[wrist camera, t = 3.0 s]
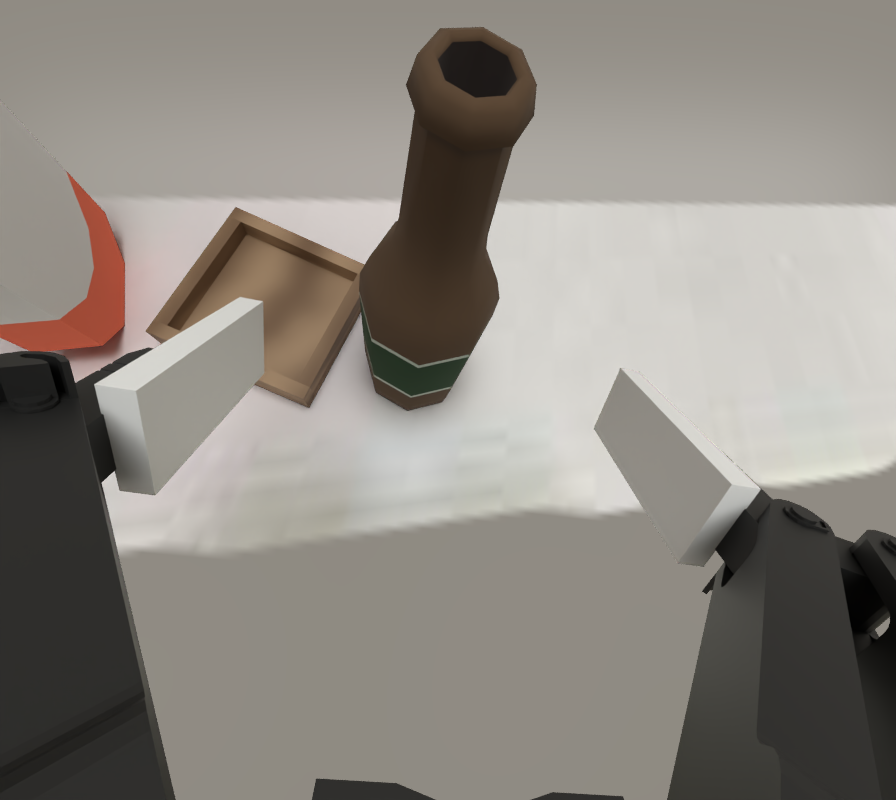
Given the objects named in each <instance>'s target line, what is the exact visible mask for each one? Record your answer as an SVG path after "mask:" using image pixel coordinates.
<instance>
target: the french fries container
mask: <svg viewBox="0 0 896 800" xmlns="http://www.w3.org/2000/svg"><path fill="white" fill-rule="evenodd" d="M124 312H125V263H124V260H123V258H122V255H121V253H120V250H119V248H118V245H117V242H116V240H115V237H114V235H113V232H112V230H111V227H110V224H109V222H108V219H107V217H106V214H105V212H104V211H103V210H102V209H101V208H100V207H99V206H98V205H97V204H96V203H95V202H94V200H93V199H92V198H91V197H90V196H89V195H88V194H87V193H86V192H85V191H84V190H83V189H82V188H81V186H80V185H79V184H78V183H77V182H76V181H75V180H74V179H73V178H72V177H71V176H70V174H69V173H68V172H67V171H66V170H65V169H64V168H63V167H62V166H61V165H60V164H59V163H58V162H57V161H56V159H55V158H54V157H53V156H52V155H51V154H50V153H49V152H48V151H47V150H46V149H45V147H44V146H43V145H42V144H41V143H40V142H39V141H38V140H37V139H36V138H35V137H34V136H33V134H32V133H31V132H30V131H29V130H28V129H27V128H26V127H25V126H24V125H23V124H22V123H21V121H20V120H19V119H18V118H17V117H16V116H15V115H14V114H13V113H12V112H11V111H10V110H9V108H8V107H7V106H6V105H5V104H4V103H3V102H2V101H1V100H0V338H3V339H5V340H7V341H9V342H11V343H13V344H16V345H18V346H20V347H22V348H24V349H27V350H29V351H54V350H64V349H74V348H84V347H94V346H103V345H104V344H105V343H106V342H107V341H108V340H109V339H110V338H112V337H113V336H114V335H115V334H116V333H117V332H118V331H119V330H120V329H121V328H122V327H123V326H124Z"/></svg>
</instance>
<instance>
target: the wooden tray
mask: <svg viewBox="0 0 896 800" xmlns="http://www.w3.org/2000/svg"><path fill="white" fill-rule="evenodd" d="M363 267H364V264H362V263H359V262H357V261H355V260H353V259H350V258H348V257H346V256H344V255H342V254H339V253H337V252H335V251H333V250H330V249H328V248H326V247H324V246H321V245H319V244H317V243H315V242H313V241H310V240H308V239H306V238H304V237H301V236H299V235H297V234H295V233H292V232H290V231H288V230H286V229H283V228H281V227H279V226H277V225H275V224H272V223H270V222H268V221H266V220H263V219H261V218H259V217H257V216H254V215H252V214H250V213H248V212H246V211H243V210H241V209H239V208H237V207H235V209H234V210H233V211H232V213H231V214H230V216H229V217H228V218H227V220H226V221H225V222H224V224H223V225H222V227H221V228H220V229H219V231H218V232H217V234H216V235H215V236H214V238H213V239H212V240H211V242H210V243H209V245H208V246H207V247H206V249H205V250H204V251H203V253H202V254H201V256H200V257H199V258H198V260H197V261H196V262H195V264H194V265H193V267H192V268H191V269H190V271H189V272H188V273H187V275H186V276H185V278H184V279H183V280H182V282H181V283H180V284H179V286H178V287H177V289H176V290H175V291H174V293H173V294H172V296H171V297H170V298H169V300H168V301H167V302H166V304H165V305H164V307H163V308H162V309H161V311H160V312H159V313H158V315H157V316H156V318H155V319H154V320H153V322H152V323H151V324H150V326H149V327H148V329H147V330H146V332H147V333H148V334H150V335H151V336H152V337H154V338H155V339H156V340H158V341H159V342H160V343H161V344H162V343H164V342H166V341H167V340H169V339H171V338H172V337H174V336H176V335H177V334H179V333H181V332H182V331H184V330H186V329H187V328H189V327H191V326H192V325H194V324H196V323H197V322H199V321H201V320H202V319H204V318H206V317H207V316H209V315H211V314H212V313H214V312H216V311H217V310H219V309H221V308H222V307H224V306H226V305H227V304H229V303H231V302H232V301H234V300H236V299H237V298H239V297H243V298H248V299H253V300H259V301H263V322H264V374H263V375H262V376H261V377H260V379H259V380H258V381H257V382H256V383H255V385H257V386H260V387H262V388H264V389H267V390H269V391H271V392H274V393H276V394H278V395H280V396H283V397H285V398H287V399H290V400H292V401H294V402H297V403H299V404H301V405H304V406H306V407H308V408H309V407H310V405H311V403H312V402H313V400H314V398H315V396H316V394H317V392H318V390H319V389H320V387H321V385H322V383H323V381H324V379H325V377H326V376H327V374H328V372H329V370H330V368H331V366H332V365H333V363H334V361H335V359H336V357H337V355H338V353H339V352H340V350H341V348H342V346H343V344H344V342H345V340H346V339H347V337H348V335H349V333H350V331H351V329H352V327H353V326H354V324H355V322H356V320H357V318H358V316H359V314H360V313H361V305H360V295H359V280H360V272H361V270H362V268H363Z"/></svg>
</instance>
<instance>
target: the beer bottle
mask: <svg viewBox="0 0 896 800" xmlns="http://www.w3.org/2000/svg"><path fill="white" fill-rule="evenodd" d="M406 86H407V89H408V92H409V95H410V98H411V101H412V104H413V107H414V110H415V114H414V120H413V127H412V134H411V140H410V147H409V154H408V161H407V168H406V174H405V181H404V187H403V194H402V201H401V207H400V214H399V219H398V221H396V222H395V223H394V225H393V226H392V227H391V229H390V230H389V231H388V233H387V234H386V235H385V237H384V238H383V240H382V241H381V242H380V244H379V245H378V246H377V248H376V249H375V250H374V252H373V253H372V254H371V256H370V257H369V259H368V260H367V262H366V264H365V265H364V267H363V268H362V270H361V272H360V280H359V295H360V305H361V315H362V324H363V334H364V344H365V352H366V356H367V360H368V363H369V367H370V371H371V375H372V379H373V383H374V387H375V391H376V393H378V394H380V395H382V396H383V397H385V398H387V399H389V400H390V401H392V402H394V403H396V404H397V405H399V406H401V407H402V408H404V409H406V410H411V409H415V408H419V407H423V406H427V405H431V404H436V403H440V402H442V401H443V400H444V399H445V398H446V396H447V395H448V393H449V391H450V389H451V388H452V386H453V384H454V382H455V381H456V379H457V377H458V376H459V374H460V372H461V370H462V369H463V367H464V365H465V363H466V362H467V360H468V358H469V356H470V354H471V353H472V351H473V349H474V347H475V346H476V344H477V342H478V340H479V338H480V337H481V335H482V333H483V331H484V329H485V328H486V326H487V324H488V322H489V321H490V319H491V317H492V315H493V313H494V311H495V308H496V305H497V303H498V300H499V291H498V282H497V278H496V275H495V272H494V270H493V267H492V264H491V261H490V258H489V255H488V252H487V250H486V246H487V236H488V232H489V229H490V225H491V222H492V218H493V215H494V211H495V208H496V204H497V201H498V197H499V193H500V190H501V186H502V182H503V179H504V176H505V173H506V169H507V166H508V162H509V158H510V155H511V151H512V148H513V146H514V144H515V143H516V141H517V140H518V139H519V137H520V136H521V134H522V133H523V131H524V130H525V128H526V127H527V125H528V124H529V122H530V121H531V119H532V118H533V116H534V109H535V98H536V86H537V84H536V82H535V79H534V77H533V75H532V72H531V70H530V68H529V65H528V63H527V61H526V58H525V56H524V53H523V51H522V50H521V49H520V48H518V47H516V46H515V45H513V44H511V43H509V42H507V41H506V40H504V39H502V38H501V37H499V36H497V35H496V34H494V33H492V32H490V31H488V30H487V29H485V28H484V27H475V28H473V27H472V28H440V29H439V30H438V31H437V33H436V34H435V35H434V36H433V37H432V38H431V39H430V41H429V42H428V43H427V44H426V45H425V46H424V47H423V48H422V49H421V51H420V52H419V53H418V54H417V56H416V59H415V62H414V64H413V67H412V70H411V73H410V76H409V78H408V81H407V84H406Z"/></svg>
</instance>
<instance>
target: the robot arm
mask: <svg viewBox="0 0 896 800" xmlns="http://www.w3.org/2000/svg"><path fill="white" fill-rule="evenodd" d="M263 374H264V322H263V301H259V300H253V299H248V298H243V297H239V298H237V299H236V300H234V301H232V302H231V303H229V304H227V305H226V306H224V307H222V308H221V309H219V310H217V311H216V312H214V313H212V314H211V315H209V316H207V317H206V318H204V319H202V320H201V321H199V322H197V323H196V324H194V325H192V326H191V327H189V328H187V329H186V330H184V331H182V332H181V333H179V334H177V335H176V336H174V337H172V338H171V339H169V340H167V341H166V342H164V343H162V344H161V345H159V346H157V347H156V348H154V349H153V348H146V349H142V350H139V351H135V352H131V353H128V354H126V355H124V356H123V357H121V358H119V359H117V360H115V361H114V362H113V364H108V365H107V366H105V367H103V368H101V370H100V371H96V372H94V373H92V374H91V375H89V376H87V377H85V378H84V379H82V380H80V381H78V382H77V383H75V381H74V378H73V374H72V370H71V366H70V363H69V361H68V359H67V358H66V357H65V356H62V355H59V354H56V353H51V352H43V351H20V352H12V353H5V354H0V800H176V799H175V795H174V791H173V787H172V783H171V778H170V774H169V770H168V766H167V762H166V757H165V753H164V748H163V744H162V740H161V736H160V732H159V727H158V723H157V718H156V714H155V710H154V705H153V701H152V697H151V693H150V688H149V684H148V680H147V675H146V671H145V667H144V662H143V658H142V654H141V650H140V646H139V641H138V637H137V632H136V628H135V624H134V620H133V615H132V611H131V607H130V602H129V598H128V594H127V590H126V586H125V581H124V577H123V572H122V568H121V564H120V559H119V555H118V551H117V547H116V542H115V538H114V534H113V529H112V525H111V521H110V516H109V512H108V508H107V504H106V499H105V495H104V491H103V487H102V484H101V482H103V481H104V480H105V479H106V478H107V477H108V476H109V475H110V474H111V473H113V472H114V471H115V474H116V478H117V482H118V486H119V490H120V491H126V492H133V493H141V494H149V495H156V494H157V493H158V492H159V491H160V489H161V488H162V487H163V486H164V485H165V484H166V483H167V482H168V481H169V479H170V478H171V477H172V476H173V475H174V474H175V473H176V472H177V470H178V469H179V468H180V467H181V466H182V465H183V464H184V463H185V461H186V460H187V459H188V458H189V457H190V456H191V455H192V454H193V453H194V451H195V450H196V449H197V448H198V447H199V446H200V445H201V444H202V442H203V441H204V440H205V439H206V438H207V437H208V436H209V435H210V433H211V432H212V431H213V430H214V429H215V428H216V427H217V426H218V425H219V423H220V422H221V421H222V420H223V419H224V418H225V417H226V416H227V414H228V413H229V412H230V411H231V410H232V409H233V408H234V407H235V405H236V404H237V403H238V402H239V401H240V400H241V399H242V398H243V397H244V395H245V394H246V393H247V392H248V391H249V390H250V389H251V388H252V386H253V385H254V384H255V383H256V382H257V381H258V380H259V379H260V377H261V376H262V375H263ZM594 429H595V431H596V433H597V434H598V436H599V437H600V439H601V441H602V442H603V444H604V446H605V447H606V449H607V450H608V452H609V454H610V455H611V457H612V458H613V460H614V462H615V463H616V465H617V467H618V468H619V470H620V471H621V473H622V475H623V476H624V478H625V479H626V481H627V483H628V484H629V486H630V488H631V489H632V491H633V492H634V494H635V496H636V497H637V499H638V500H639V502H640V504H641V505H642V507H643V509H644V510H645V512H646V513H647V515H648V516H649V518H650V520H651V521H652V523H653V525H654V526H655V528H656V529H657V531H658V533H659V534H660V536H661V538H662V539H663V541H664V542H665V544H666V546H667V547H668V549H669V550H670V552H671V554H672V555H673V557H674V559H675V560H676V562H677V563H678V564H686V565H694V566H702V567H704V565H705V564H706V562H707V561H708V560H709V559H710V557H711V556H712V555H713V553H714V552H715V551H717V552H718V554H719V555H720V556H721V557H722V559H723V560H724V563H723V565H722V566H721V567H720V569H719V570H718V571H717V573H716V574H715V575H714V576H713V578H712V579H711V580H710V582H709V583H708V584H707V586H706V587H705V588H704V590H703V591H702V592H704V593H705V594H707V593H708V592H709V591H710V590H713V591H712V596H711V600H710V605H709V610H708V614H707V619H706V623H705V628H704V632H703V637H702V642H701V646H700V651H699V656H698V660H697V665H696V669H695V674H694V679H693V683H692V688H691V692H690V698H689V702H688V706H687V711H686V715H685V720H684V725H683V729H682V734H681V738H680V743H679V748H678V752H677V757H676V762H675V766H674V771H673V775H672V780H671V784H670V789H669V794H668V798H667V800H896V538H895V537H893V536H891V535H889V534H886V533H883V532H879V531H876V530H867V531H866V532H865V533H864V534H863V535H862V536H861V537H860V538H859V539H858V540H857V541H856V542H855V543H853V542H850V541H847V540H844V539H841V538H838V537H835V535H834V533H833V531H832V529H831V527H830V526H829V525H828V524H827V523H826V522H824V521H823V520H822V519H821V518H819V517H818V516H817V515H815V514H814V513H812V512H811V511H809V510H808V509H806V508H804V507H802V506H800V505H797V504H795V503H792V502H790V501H786V500H781V499H774V500H773V499H771V498H770V497H769V496H768V495H767V494H766V493H765V492H764V491H763V490H762V489H761V488H760V487H759V486H758V485H757V484H756V483H755V482H754V481H753V480H752V479H751V478H750V477H749V476H748V475H747V474H745V473H744V472H743V471H742V470H741V469H740V468H739V467H738V466H737V465H736V464H735V463H734V462H733V461H732V460H731V459H730V458H729V457H728V456H727V455H726V454H725V453H724V452H723V451H721V450H720V449H719V448H718V447H717V446H716V445H715V444H714V443H713V442H712V441H711V440H710V439H709V438H708V437H707V436H706V435H705V434H704V433H702V432H701V431H700V430H699V429H698V428H697V427H696V426H695V425H694V424H693V423H692V422H691V421H690V420H689V419H688V418H687V417H686V416H685V415H684V414H683V413H682V412H681V411H680V410H679V409H678V408H677V407H676V406H675V405H673V404H672V403H671V402H670V401H669V400H668V399H667V398H666V397H665V396H664V395H663V394H662V393H661V392H660V391H659V390H658V389H657V388H656V387H655V386H654V385H653V384H652V383H651V382H650V381H649V380H648V379H647V378H645V377H644V376H643V375H642V374H641V373H640V372H639V371H634V370H628V369H623V368H620V371H619V373H618V375H617V377H616V380H615V382H614V384H613V386H612V389H611V391H610V393H609V395H608V398H607V400H606V402H605V404H604V407H603V409H602V411H601V413H600V416H599V418H598V420H597V422H596V425H595V427H594ZM889 617H890V624H889V627H888V629H887V630H886V632H885V633H884V634H883V635H881V636H880V637H879V636H878V634H877V632H876V631H875V629H876V628H877V627H878V626H879V625H881V624H882V623H883V622H884V621H885V620H886V619H888V618H889ZM312 800H435V799H432V798H430V797H428V796H425V795H423V794H421V793H418V792H416V791H413V790H411V789H409V788H406V787H404V786H401V785H399V784H397V783H381V782H365V781H363V782H362V781H348V780H330V779H316V783H315V788H314V792H313V797H312ZM532 800H624V798H623V797H622V796H605V795H588V794H571V793H554V792H553V793H550V794H547V795H544V796H541V797H538V798H535V799H532Z"/></svg>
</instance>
